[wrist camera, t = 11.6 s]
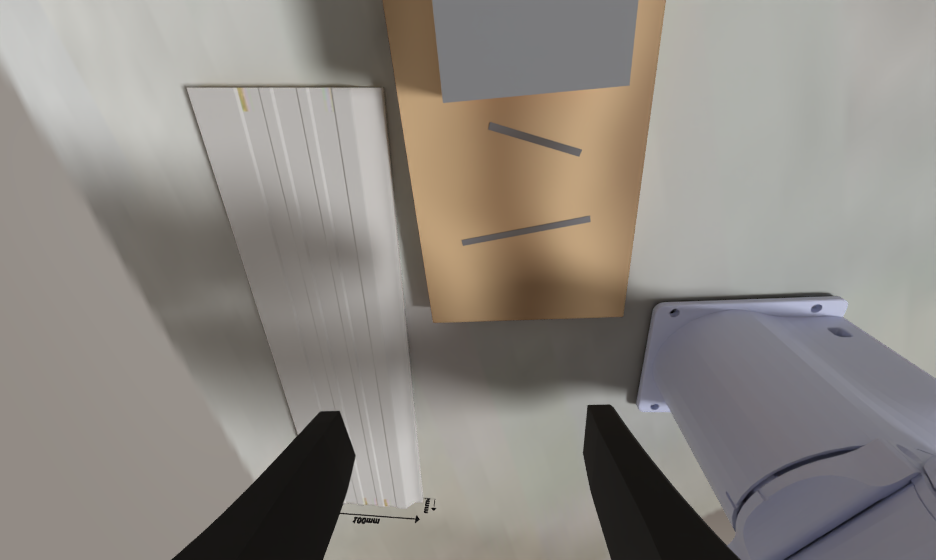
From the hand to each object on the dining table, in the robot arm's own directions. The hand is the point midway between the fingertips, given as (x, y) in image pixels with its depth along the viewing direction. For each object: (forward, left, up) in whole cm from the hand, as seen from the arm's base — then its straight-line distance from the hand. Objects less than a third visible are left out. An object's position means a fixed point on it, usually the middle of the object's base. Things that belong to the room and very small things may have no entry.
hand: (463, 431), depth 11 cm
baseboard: (+8, +6, -11) cm, 15 cm away
